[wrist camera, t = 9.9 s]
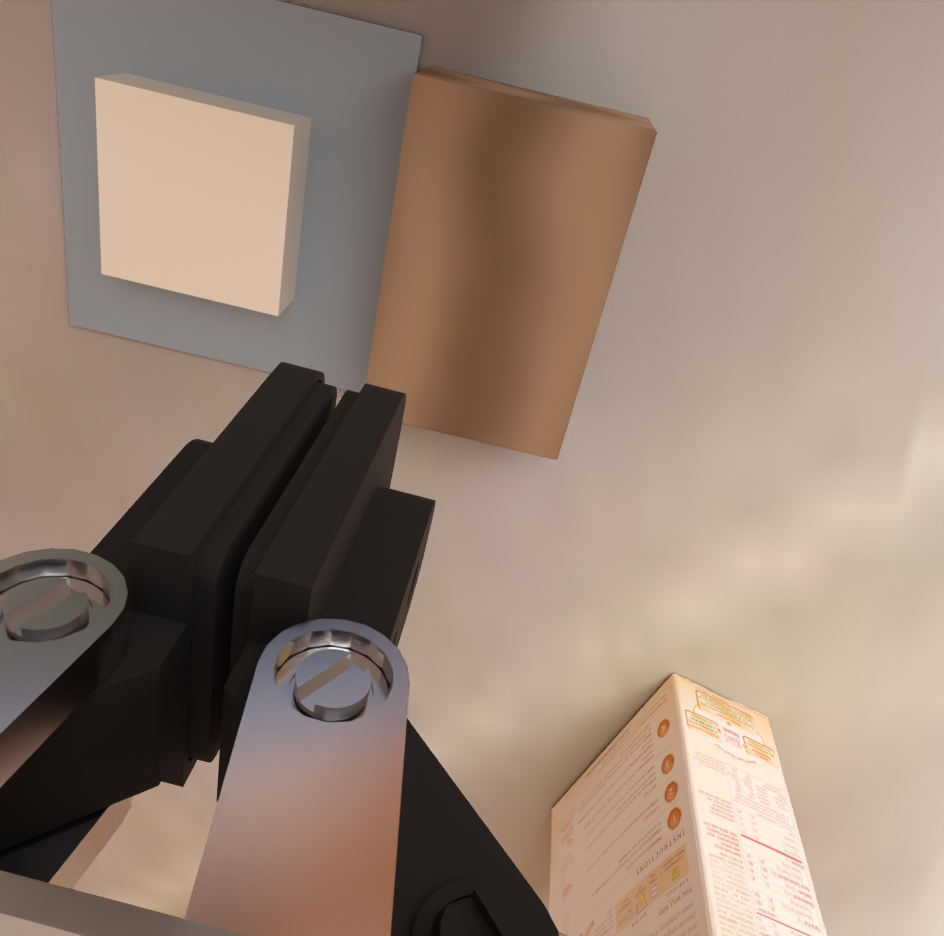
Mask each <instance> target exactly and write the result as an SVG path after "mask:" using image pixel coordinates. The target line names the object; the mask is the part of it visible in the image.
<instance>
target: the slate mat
mask: <svg viewBox="0 0 944 936" xmlns="http://www.w3.org/2000/svg"><path fill="white" fill-rule="evenodd" d="M51 4H52V22H53V39H54V57H55V74H56V92H57V109H58V127H59V145H60V162H61V180H62V197H63V215H64V232H65V250H66V267H67V285H68V302H69V320H70V325H73V326H77V327H82V328H86V329H90V330H94V331H98V332H103V333H107V334H111V335H115V336H119V337H123V338H128V339H132V340H136V341H140V342H144V343H149V344H153V345H157V346H161V347H165V348H169V349H174V350H178V351H182V352H186V353H190V354H194V355H199V356H203V357H207V358H211V359H215V360H220V361H224V362H228V363H232V364H236V365H240V366H245V367H249V368H253V369H257V370H261V371H266V372H270V373H272V372H273V370H274V369H275V368H276V367H277V366H278V364H280V363H281V362H286V363H290V364H293V365H297V366H301V367H305V368H309V369H313V370H317V371H321V372H323V373H324V375H325V384H328V385H332V386H336V388H337V389H341V390H345V391H347V390H351V391H355V392H359V393H360V391H361V389H362V387H363V386H364V385H365V383H366V380H367V374H368V367H369V360H370V354H371V347H372V341H373V334H374V328H375V321H376V314H377V308H378V301H379V295H380V288H381V281H382V275H383V268H384V262H385V255H386V249H387V242H388V235H389V229H390V222H391V216H392V209H393V203H394V196H395V189H396V183H397V176H398V170H399V163H400V157H401V150H402V143H403V137H404V130H405V124H406V117H407V111H408V104H409V97H410V91H411V84H412V78H413V74H414V73H416V72H417V70H418V64H419V57H420V51H421V44H422V38H423V35H419V34H415V33H411V32H407V31H403V30H398V29H394V28H390V27H386V26H382V25H378V24H374V23H369V22H365V21H361V20H357V19H353V18H349V17H345V16H341V15H336V14H332V13H328V12H324V11H320V10H316V9H312V8H307V7H303V6H299V5H295V4H291V3H287V2H283V1H278V0H51ZM120 73H128V74H132V75H136V76H140V77H144V78H148V79H153V80H157V81H161V82H165V83H169V84H173V85H177V86H182V87H186V88H190V89H194V90H198V91H202V92H206V93H211V94H215V95H219V96H223V97H227V98H231V99H235V100H240V101H244V102H248V103H252V104H256V105H260V106H264V107H269V108H273V109H277V110H281V111H285V112H289V113H293V114H298V115H302V116H306V117H310V118H312V121H311V132H310V142H309V153H308V163H307V174H306V184H305V195H304V205H303V216H302V226H301V237H300V247H299V258H298V268H297V279H296V289H295V299H294V300H293V301H292V302H291V303H290V304H289V305H288V306H287V307H286V308H285V310H284V311H283V312H282V313H281V314H280V315H279V316H275V315H271V314H267V313H262V312H258V311H254V310H250V309H246V308H242V307H237V306H233V305H229V304H225V303H221V302H217V301H212V300H208V299H204V298H200V297H196V296H192V295H187V294H183V293H179V292H175V291H171V290H167V289H162V288H158V287H154V286H150V285H146V284H142V283H137V282H133V281H129V280H125V279H121V278H116V277H112V276H108V275H104V274H101V246H100V217H99V188H98V158H97V129H96V100H95V77H101V76H107V75H113V74H120Z"/></svg>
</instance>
